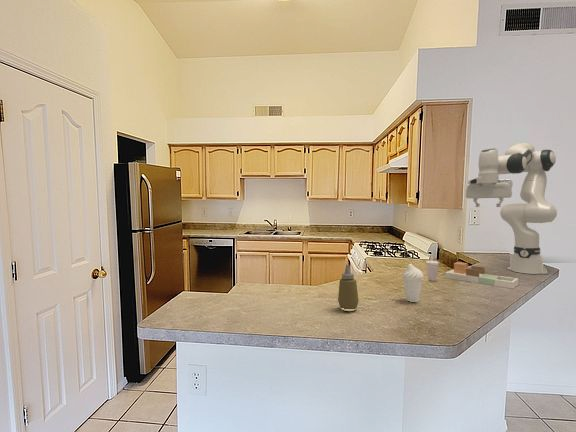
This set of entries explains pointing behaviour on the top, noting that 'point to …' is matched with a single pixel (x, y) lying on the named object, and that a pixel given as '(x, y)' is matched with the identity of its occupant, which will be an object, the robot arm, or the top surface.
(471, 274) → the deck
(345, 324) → the top surface
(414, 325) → the top surface
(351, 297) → the squeeze bottle
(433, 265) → the smoothie
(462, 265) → the block
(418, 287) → the soft serve ice cream cone
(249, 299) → the top surface
